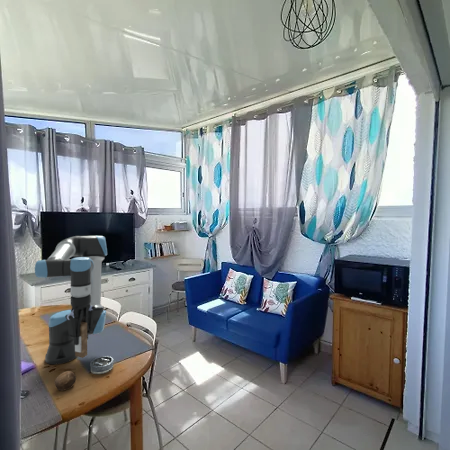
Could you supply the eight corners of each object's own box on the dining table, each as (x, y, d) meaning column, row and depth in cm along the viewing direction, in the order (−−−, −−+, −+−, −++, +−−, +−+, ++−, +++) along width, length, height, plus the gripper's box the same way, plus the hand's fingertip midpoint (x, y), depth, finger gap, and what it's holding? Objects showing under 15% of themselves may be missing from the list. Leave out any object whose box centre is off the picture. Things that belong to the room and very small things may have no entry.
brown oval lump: (61, 372, 126) (62, 365, 122) (78, 378, 126) (80, 371, 123) (50, 390, 119) (50, 383, 116) (68, 396, 120) (69, 390, 116)
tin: (102, 376, 129) (102, 368, 129) (85, 371, 132) (85, 364, 132) (117, 365, 138) (117, 358, 138) (101, 361, 142) (101, 354, 142)
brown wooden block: (82, 357, 115) (82, 324, 115) (75, 356, 117) (75, 323, 116) (87, 355, 118) (87, 322, 117) (80, 353, 119) (79, 321, 118)
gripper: (71, 301, 107) (72, 360, 108) (101, 290, 122) (102, 343, 123) (57, 299, 110) (58, 357, 111) (88, 288, 124) (88, 340, 125)
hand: (81, 349), depth 117 cm, fingers closed on brown wooden block, 2 cm apart
